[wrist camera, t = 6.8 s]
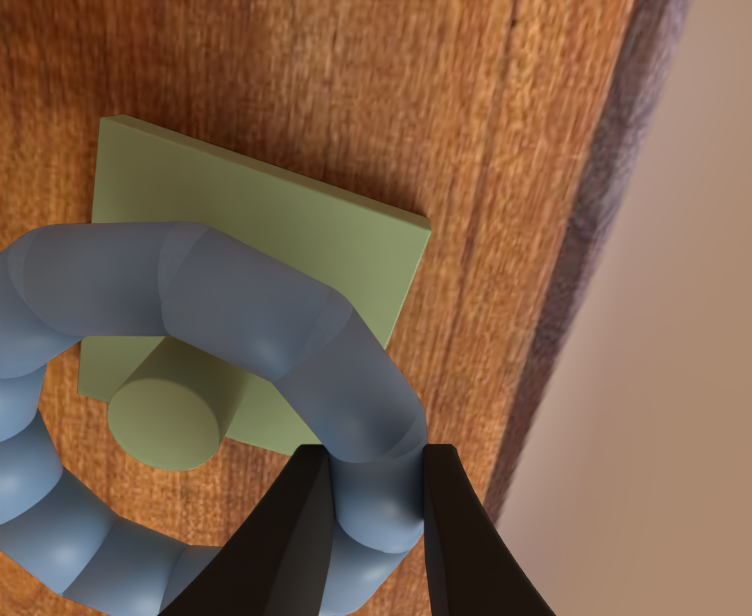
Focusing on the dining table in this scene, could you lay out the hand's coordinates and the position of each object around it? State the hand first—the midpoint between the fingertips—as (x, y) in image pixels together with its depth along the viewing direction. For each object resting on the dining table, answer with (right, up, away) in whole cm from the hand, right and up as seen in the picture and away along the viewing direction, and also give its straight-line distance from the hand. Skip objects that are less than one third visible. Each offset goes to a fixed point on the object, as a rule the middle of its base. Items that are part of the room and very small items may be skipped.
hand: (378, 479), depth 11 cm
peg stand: (-4, +4, +5) cm, 8 cm away
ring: (-5, 0, +1) cm, 5 cm away
